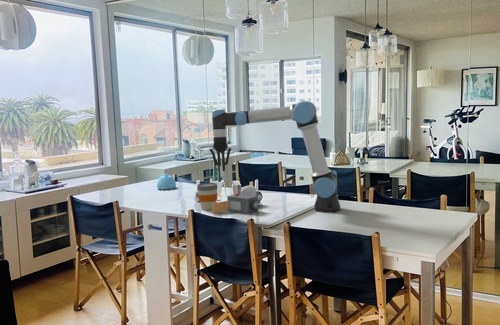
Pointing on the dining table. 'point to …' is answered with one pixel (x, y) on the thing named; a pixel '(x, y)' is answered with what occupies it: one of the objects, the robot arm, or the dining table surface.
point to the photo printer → (248, 190)
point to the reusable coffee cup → (207, 195)
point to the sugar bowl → (166, 182)
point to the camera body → (243, 203)
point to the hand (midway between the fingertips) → (222, 176)
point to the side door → (220, 206)
